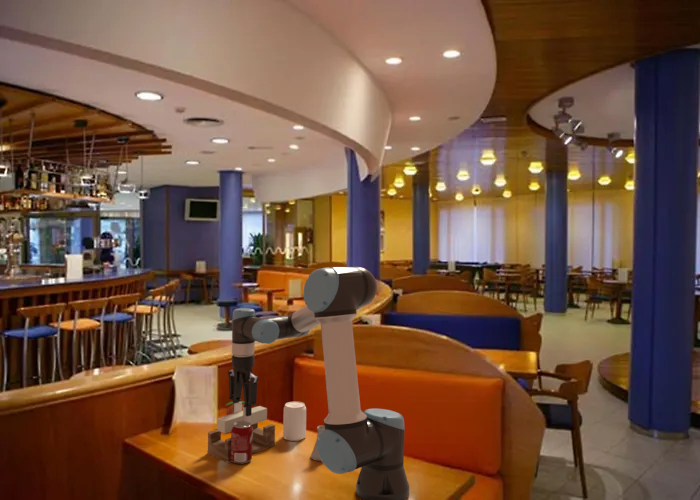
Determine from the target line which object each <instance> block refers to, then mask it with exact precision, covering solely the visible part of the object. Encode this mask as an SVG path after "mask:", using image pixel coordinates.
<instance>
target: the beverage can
mask: <svg viewBox="0 0 700 500" xmlns="http://www.w3.org/2000/svg"><path fill="white" fill-rule="evenodd" d="M282 420H283V421H282V423H283V427H282V428H283V429H282V437H283V439H285V440H287V441H290V442H291V441H292V442H297V441H301V440H302V439H304V438H306V436H307V407H306V405H305V402H302V401H289V402H286V403H284V407H283V419H282Z"/></svg>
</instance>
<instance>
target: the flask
mask: <svg viewBox="0 0 700 500" xmlns="http://www.w3.org/2000/svg"><path fill="white" fill-rule="evenodd" d="M316 430H317V435H316V439H315V443H314V445H313V449H312V452H311V454H310V459H312V460H314V461H315V462H316V461H319V462H322V460H321V458H320V456H319V453H318V450H317V439H318V437H319V434H320V433H321V432H322V431H323V430H325V426H324V425H317V427H316Z"/></svg>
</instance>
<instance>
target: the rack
mask: <svg viewBox="0 0 700 500" xmlns="http://www.w3.org/2000/svg"><path fill="white" fill-rule="evenodd" d="M258 424H259V423H256V424H252V425H251V427H252V428H253V441H252V455H253V454H256V453H258V451H259V452H261V451H263V450H267V449H268V448H272V447H274V446H276V440H275V439H276V425H275V424H268V425H265V426H263V427H262V428H260V427H259V426H258ZM221 437H222V432H220V431H218V430H217V429H215V430H213V431H209V432H208V433H207V452H206V453H207V454H208V455H210V456H212V457H215V458H216V459H218V460H221V461H223V462H225V463H227V464H229V463H231V462H232V461H231V460H230V454H231V437H229V438H226V439H224V440H222V438H221ZM266 448H267V449H266ZM232 463H233V462H232Z"/></svg>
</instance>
